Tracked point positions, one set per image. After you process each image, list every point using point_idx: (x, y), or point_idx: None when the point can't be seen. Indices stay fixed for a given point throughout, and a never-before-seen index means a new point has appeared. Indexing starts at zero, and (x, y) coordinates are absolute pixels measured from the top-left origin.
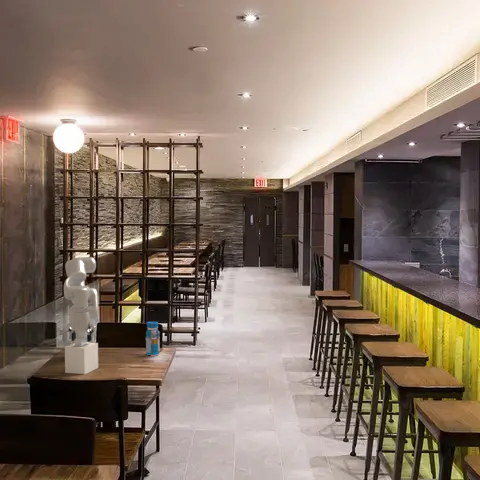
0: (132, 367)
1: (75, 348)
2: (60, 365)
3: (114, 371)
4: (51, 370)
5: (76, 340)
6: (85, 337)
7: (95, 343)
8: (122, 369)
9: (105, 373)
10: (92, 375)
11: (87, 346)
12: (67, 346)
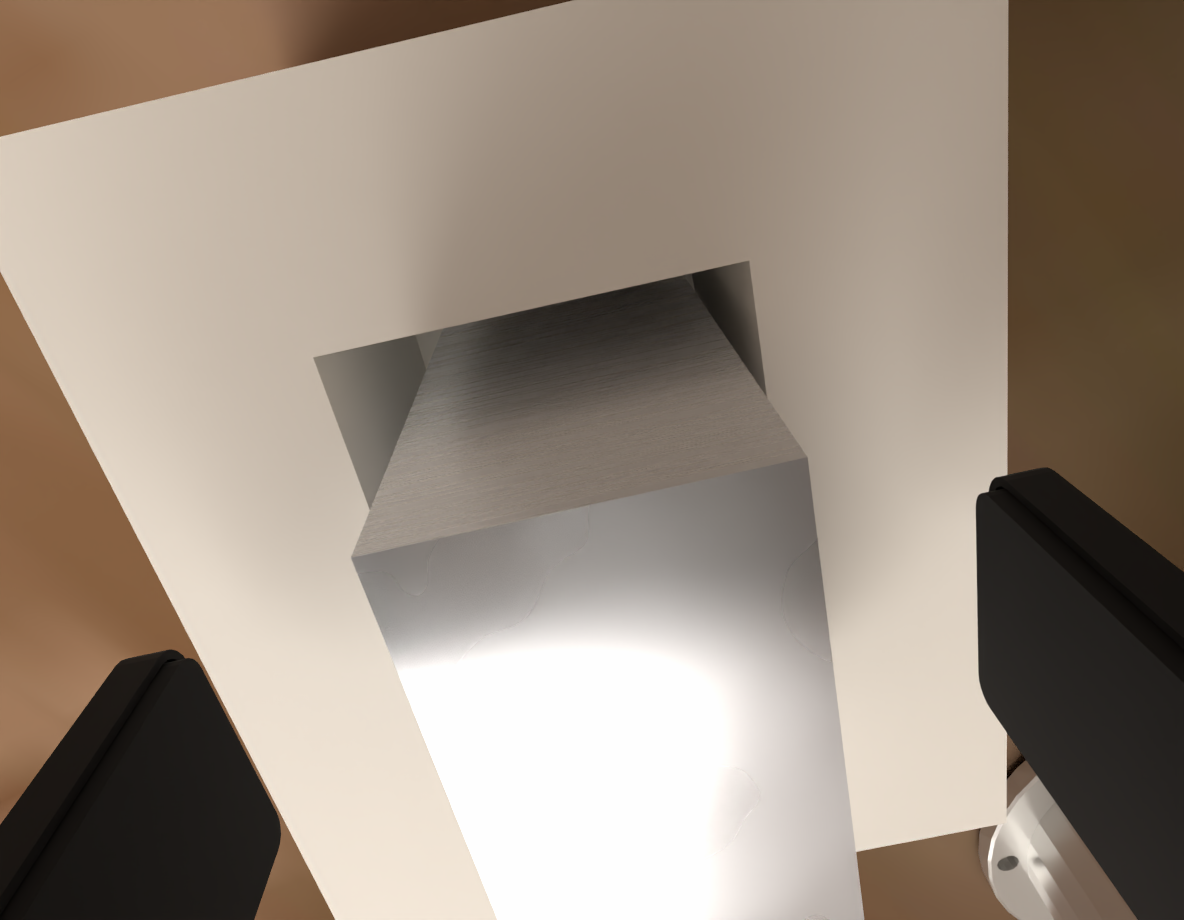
0: (12, 780)
1: (408, 43)
2: (1160, 376)
3: (14, 512)
4: (1130, 7)
5: (667, 445)
6: (497, 902)
7: (362, 891)
8: (26, 649)
9: (15, 347)
10: (81, 114)
11: (190, 499)
12: (971, 98)
